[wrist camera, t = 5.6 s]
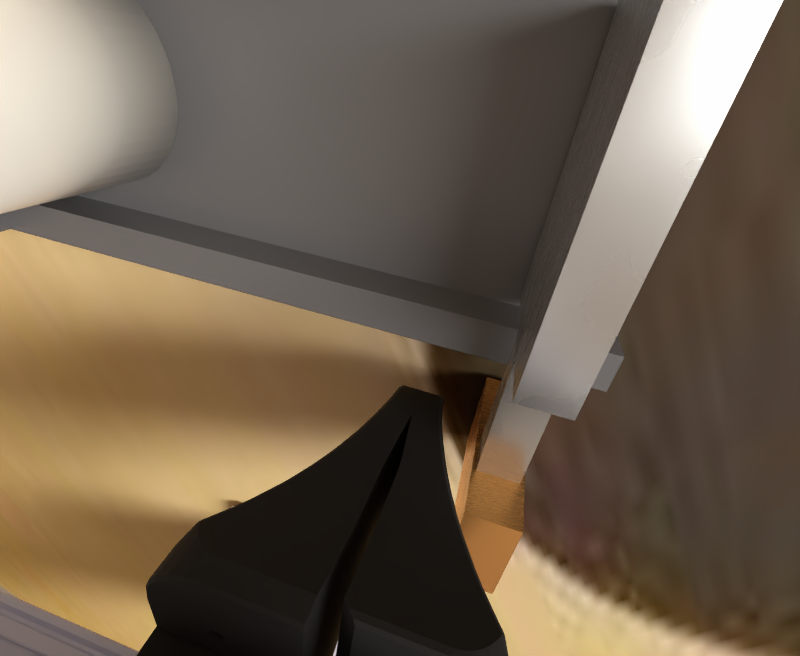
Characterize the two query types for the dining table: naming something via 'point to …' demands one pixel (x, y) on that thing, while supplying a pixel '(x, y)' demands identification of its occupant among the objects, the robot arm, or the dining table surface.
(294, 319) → the dining table surface
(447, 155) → the lane
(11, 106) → the cream jar
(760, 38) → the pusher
